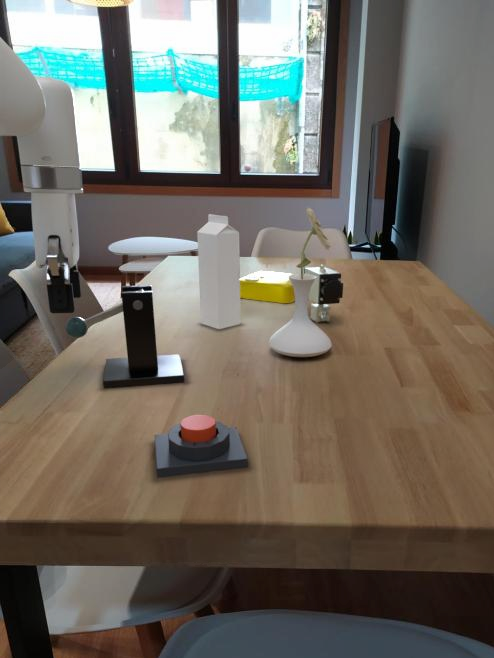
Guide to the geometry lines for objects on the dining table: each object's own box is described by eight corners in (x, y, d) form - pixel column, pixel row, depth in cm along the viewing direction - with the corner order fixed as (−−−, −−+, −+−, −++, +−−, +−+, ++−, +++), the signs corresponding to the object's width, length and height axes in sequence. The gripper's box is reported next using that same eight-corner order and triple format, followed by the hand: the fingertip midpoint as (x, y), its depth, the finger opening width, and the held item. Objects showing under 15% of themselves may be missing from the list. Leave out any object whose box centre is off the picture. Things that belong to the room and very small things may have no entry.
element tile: (289, 304, 131) (290, 284, 129) (234, 297, 136) (233, 278, 134) (310, 291, 144) (311, 273, 142) (259, 286, 149) (259, 268, 147)
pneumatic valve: (321, 328, 113) (323, 270, 108) (299, 314, 123) (301, 260, 118) (344, 326, 115) (348, 269, 110) (322, 312, 125) (324, 259, 120)
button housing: (157, 478, 59) (155, 454, 58) (155, 443, 66) (153, 421, 65) (247, 467, 61) (247, 444, 60) (236, 435, 69) (235, 413, 67)
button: (182, 445, 61) (181, 431, 60) (180, 429, 64) (179, 416, 63) (218, 441, 62) (217, 428, 61) (213, 426, 65) (213, 413, 64)
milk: (222, 318, 118) (220, 213, 110) (241, 324, 115) (240, 215, 106) (200, 323, 114) (196, 214, 106) (218, 329, 110) (216, 217, 102)
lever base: (103, 388, 82) (92, 298, 76) (106, 365, 90) (97, 283, 85) (184, 382, 84) (179, 294, 79) (179, 360, 93) (175, 280, 88)
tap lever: (71, 344, 81) (59, 325, 80) (73, 337, 84) (62, 319, 83) (151, 308, 82) (141, 289, 81) (150, 303, 85) (141, 285, 84)
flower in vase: (323, 366, 92) (330, 212, 83) (259, 358, 95) (260, 209, 86) (339, 343, 104) (347, 206, 94) (282, 337, 107) (284, 204, 97)
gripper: (34, 179, 81) (48, 293, 87) (9, 181, 65) (28, 320, 71) (87, 180, 83) (97, 292, 89) (75, 183, 67) (89, 318, 73)
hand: (66, 304), depth 80 cm, fingers open, 9 cm apart
